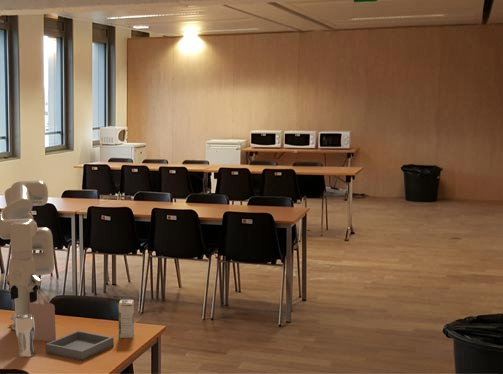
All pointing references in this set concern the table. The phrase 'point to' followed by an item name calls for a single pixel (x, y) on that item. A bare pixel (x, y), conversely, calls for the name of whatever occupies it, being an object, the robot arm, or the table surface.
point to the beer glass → (25, 335)
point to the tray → (79, 345)
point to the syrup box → (126, 318)
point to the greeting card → (44, 321)
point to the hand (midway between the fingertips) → (24, 300)
